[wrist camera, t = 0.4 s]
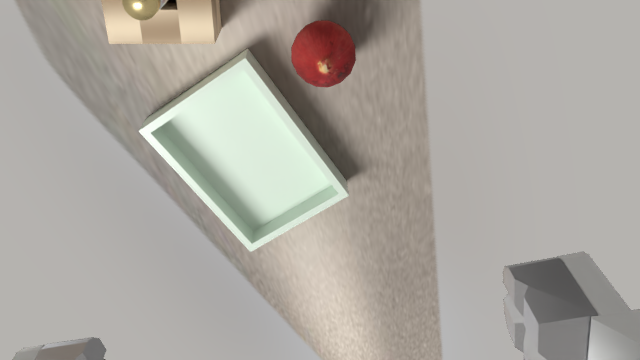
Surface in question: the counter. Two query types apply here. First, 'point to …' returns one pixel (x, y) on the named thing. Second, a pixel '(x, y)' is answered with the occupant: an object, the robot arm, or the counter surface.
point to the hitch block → (165, 23)
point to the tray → (246, 152)
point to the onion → (323, 53)
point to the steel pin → (142, 8)
